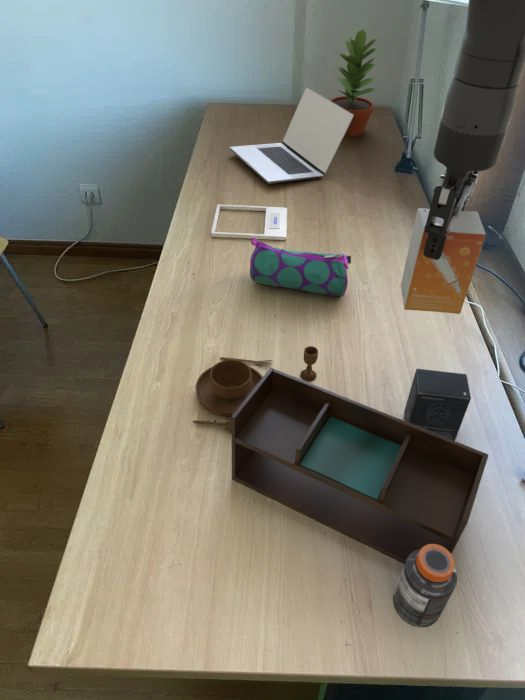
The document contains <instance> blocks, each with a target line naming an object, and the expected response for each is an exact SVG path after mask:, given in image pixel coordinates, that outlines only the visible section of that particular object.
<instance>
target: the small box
mask: <svg viewBox="0 0 525 700" xmlns="http://www.w3.org/2000/svg"><path fill="white" fill-rule="evenodd" d="M429 211H430V208H424V207H423V208H422V207H418V208H417V211H416V215H415V218H414V225H413V229H412V233H411V237H410V241H409V246H408V249H407V255H406V259H405V263H404V268H403V273H402V276H401V282H400V290H401V297H402V303H403V310H404V311H419V312H420V311H421V312H433V313H446V314H453V315H454V314H455V315H460V314H461V312H462V309H463V306H464V303H465V300H466V298H467V295H468V291H469V289H470V285H471V283H472V280H473V276H474V273H475V270H476V266H477V264H478V261H479V258H480V255H481V251H482V249H483V246H484V243H485V240H486V237H487V233H486V231H485V228H484V225H483V223H482V220H481V217H480V214H479V212H478V211H472V210H471V211H470V210H464V211H461V212H460V215H459V217H458V218H456V219H454V220H453V222H452V224H451V227H450V232H449V233H448V235H447V238H446V241H445V245H444V249H443V252H442V256H441V257H440V259H439V260H434V259H431V258H428V257H425V256H424V254H423V253H424V249H425V245H426V241H427V237H428V233H426V232H424V230H425V229H424V227H425V225H426V222H427V218H428V214H429ZM436 223H439V224H443V223H444V220H443V219H442V218H439V217H437V219H436Z"/></svg>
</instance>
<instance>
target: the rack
mask: <svg viewBox="0 0 525 700" xmlns="http://www.w3.org/2000/svg"><path fill="white" fill-rule="evenodd" d="M230 421H231V431H230V433H231V435H230V436H231V438H230V439H231V480H232V481H234V482H236V483H238V484H240V485H242V486H244V487H246V488H249V489H250V490H253V491H254V492H257V493H259V494H261V495H263V496H265V497H267V498H269V499H271V500H273V501H274V502H277V503H279V504H281V505H283V506H285V507H288V508H290V509H291V510H293V511H295V512H297V513H300V514H302V515H303V516H306V517H308V518H309V519H312V520H314V521H316V522H318V523H320V524H322V525H324V526H326V527H328V528H330V529H332V530H334V531H336V532H338V533H341V534H343V535H344V536H347V537H348V538H351V539H352V540H355V541H356V542H359V543H361V544H362V545H365V546H367V547H369V548H371V549H373V550H375V551H377V552H379V553H381V554H383V555H385V556H388V557H389V558H391V559H393V560H395V561H398V562H400V563H401V564H403V565H404V564H405V562H406V560H407V558H408V556H409V555H410V554H411V553H412V552H414V551H415V550H418V549H421V548H422V547H424V546H425V545H428V544H437V545H440V546H443V547H444V548H446V549H447V550H448V551H449V552H450V553H451V555H452V554H453V553H454V550H455V548H456V547H457V545H458V542H459V540H460V539H461V537H462V535H463V533H464V530H465V528H466V527H467V525H468V523H469V520H470V517H471V513H472V510H473V506H474V504H475V500H476V497H477V494H478V491H479V487H480V484H481V482H482V477H483V474H484V471H485V468H486V465H487V462H488V459H489V454H488V453H486V452H483V451H481V450H479V449H476V448H473V447H471V446H468V445H466V444H463V443H461V442H458V441H456V440H455V441H454V440H451V439H449V438H446V437H444V436H441V435H439V434H436V433H434V432H431V431H429V430H426V429H424V428H421V427H419V426H416V425H414V424H411V423H409V422H406V421H404V419H402V418H401V419H400V418H399V417H396V416H393V415H391V414H389V413H386V412H383V411H381V410H378V409H376V408H373V407H370V406H368V405H365V404H364V403H361V402H358V401H357V400H354V399H351V398H348V397H345V396H344V395H341V394H339V393H336V392H333V391H330V390H328V389H326V388H323V387H321V386H318V385H316V384H313V383H310V382H309V381H307V380H304V379H302V378H298V377H296V376H294V375H291V374H288V373H286V372H283V371H281V370H278V369H276V368H273V367H270V368H269V369H268V370H267V371H266V372H265V373H264V374H263V375H262V379H261V380H260V381H259V382H258V384H257V385H256V386H255V387H254V389H253V390H252V391H251V392H250V394H249V395H248V396H247V397H246V399H245V400H244V401H243V402H242V404H241V405H240V406H239V407H238V409H237V410H236V411H235V413H234V414H233V415H232V416H230Z"/></svg>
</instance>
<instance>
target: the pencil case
mask: <svg viewBox="0 0 525 700" xmlns="http://www.w3.org/2000/svg"><path fill="white" fill-rule="evenodd" d="M250 243H251V245H252V246H255V247H254V249H253V251H252V253H251V255H250V261H249V277H250V279H251V280H252V281H253V282H255V283H258V284H261V285H267V286H272V287H280V288H285V289H287V288H288V289H293V290H299V291H303V292H308V293H315V294H321V295H326V296H335V297H343V296H345V295H346V292H347V289H348V284H349V280H348V269H349V265H351V264H352V256H351V255H347V254H346V253H323V252H322V253H321V252H320V253H318V252H313V251H295V250H287V249H284V248H279V247H274V246H272V245H270V244H268V243H266V242H263V241H260V240H259V241H258V239H256V238H255V237H254V238H253V239H252V240H251V242H250Z"/></svg>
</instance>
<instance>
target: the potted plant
mask: <svg viewBox="0 0 525 700" xmlns="http://www.w3.org/2000/svg"><path fill="white" fill-rule="evenodd" d="M376 41H378V38H377V39H376V38H374V39H371V40H369V42H367V32H366V31H365V30H364V27H362V28H361V30H359V31H358V32H356V35H355V39H352V38H351V37H349V40H348V39H346V42H345V45H346V48H347V51H348V53H349V55H346V54H344V53H339V52H337V54H338V55H339V57H341V58H342V59H343V60H344V61H345V62H347V63H346V68H344V67H339V66H336V69H338V71H339V72H340V73H341V74H342V76H343V77H344V78H343V77H340V76H338V77H339V79H338V81H339V82H340V83H341V85H342V86H343V87H344V88H345V91H342V90H340V89H338V91H339V92H340V93H341V94H343V95H341V96H335V97H333V98H331V99H329V100H330V101H332V102H333V103H335V104H337V105H338V106H340V107H342V108H343V109H345V110H347V111H349V112H350V113H352V114H353V115H354V117H353V119H352V121H351V123H350V125H349V127H348V129H347V131H346V133H345V135H344V137H357V136H361V135H363V133H364V132H365V129H366V127H367V124H368V122H369V119H370V117H371V115H372V114H373V113H374V108H375V104H374V102H373V101H371V100H370V99H367V98H365V97H361V95H365V94H369V93H371V92H374V91H376V90H378V88H374V87H368V88H365V89H362V88H363V87H365V86H367V85H369V84H370V83H372V82H374V81H375V79H377V77H374V78H373V77H368V78H365V77H366V76H367V74H368V73H369V72H370V71H372V70H373V68H374V67H375V66H376V65H377V64H378V62H376V63H373V62H374V60H375V57H373V58H372V59H370V60H368V61H366V62H364V63H363V61H364V60H365V59H366V58H367V57H369V56H370V55H371V54H373V53H374V52H376V51H377V50H378V49H379V47H378V48H375V47H373V48H371V49H370V47H371V46H372V45H373V44H375V43H376ZM366 42H367V44H366ZM368 49H369V50H368ZM362 63H363V64H362ZM346 69H347V70H346ZM360 89H361V90H360Z"/></svg>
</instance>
